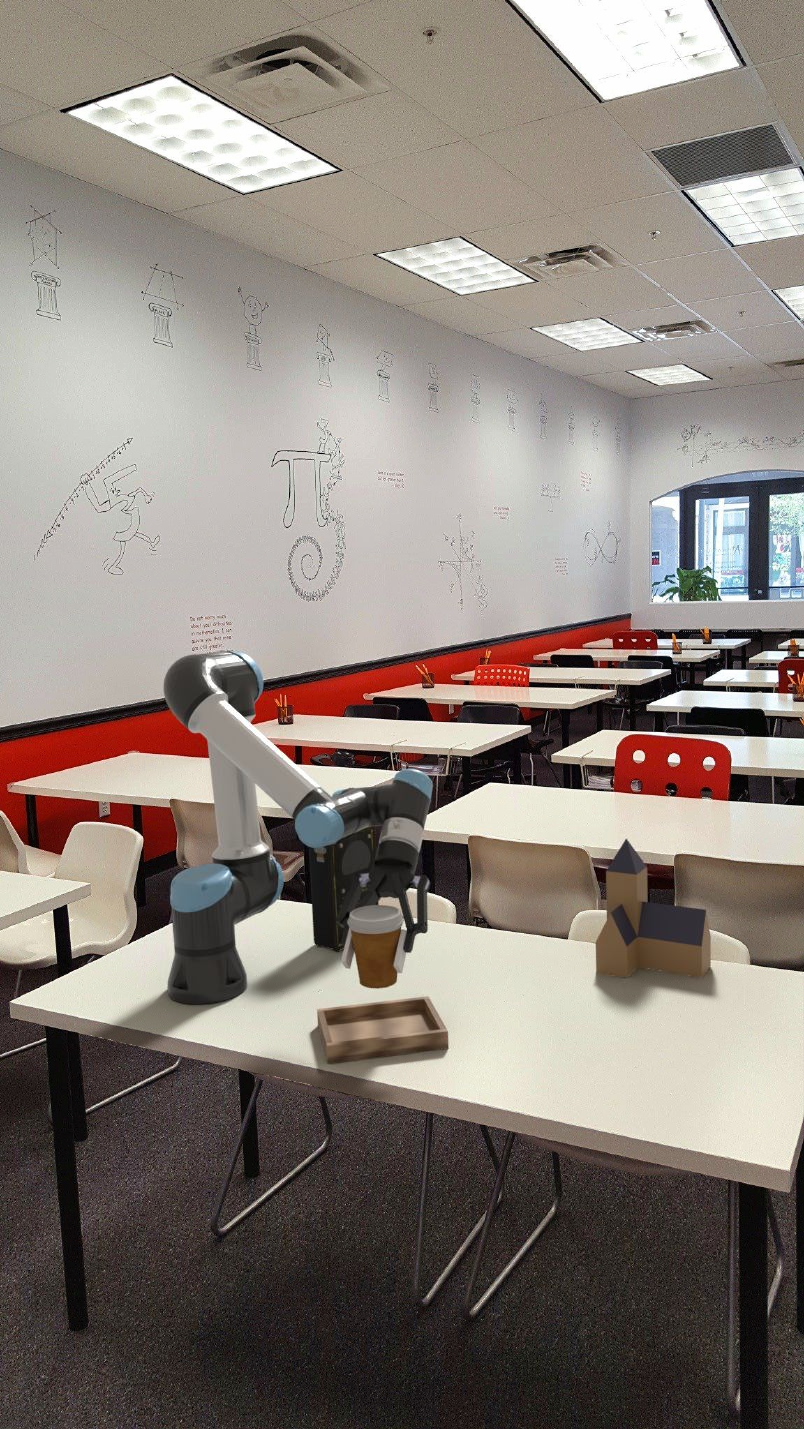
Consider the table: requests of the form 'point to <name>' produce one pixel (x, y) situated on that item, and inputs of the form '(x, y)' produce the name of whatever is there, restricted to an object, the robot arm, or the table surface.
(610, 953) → the model church
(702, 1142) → the table surface
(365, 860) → the voltmeter
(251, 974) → the table surface
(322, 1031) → the trough tray
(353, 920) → the disposable coffee cup
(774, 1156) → the table surface
